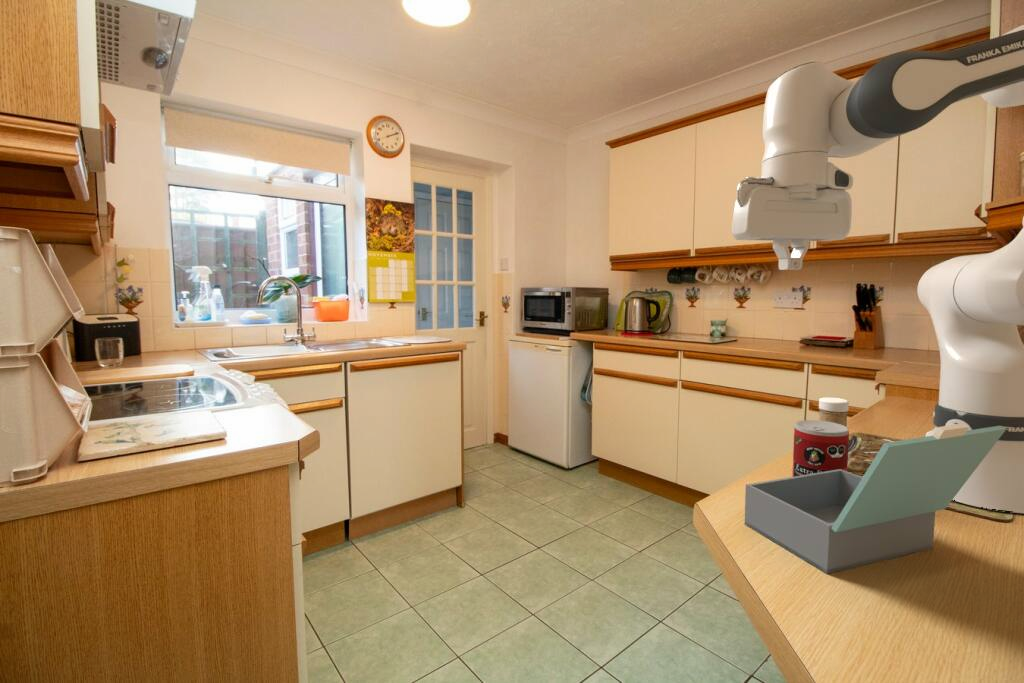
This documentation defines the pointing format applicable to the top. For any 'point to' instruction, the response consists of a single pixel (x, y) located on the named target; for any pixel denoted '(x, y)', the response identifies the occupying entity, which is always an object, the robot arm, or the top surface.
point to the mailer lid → (917, 475)
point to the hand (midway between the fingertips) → (790, 269)
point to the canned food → (819, 447)
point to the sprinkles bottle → (833, 410)
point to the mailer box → (829, 522)
